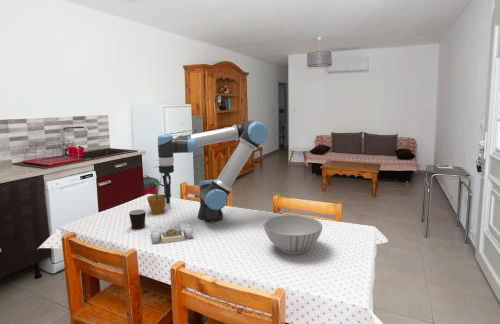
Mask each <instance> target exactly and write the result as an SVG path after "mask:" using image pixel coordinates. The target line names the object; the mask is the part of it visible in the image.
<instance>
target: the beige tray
mask: <svg viewBox="0 0 500 324" xmlns="http://www.w3.org/2000/svg"><path fill="white" fill-rule="evenodd" d="M178 224H179V226H178V227H179V230H176V235H174V236H167V235H166V232H165V231H164V230H163V226H162V225H156V226H154V227H152V228H151V229H150V232H151V233H150V238H151V244H152V246H154V245H160V244H161V245H162V244H168V243H177V242H183V241H190V240H195V238H194V236H193V228H192V227H191V223H185V222H180V223H178Z"/></svg>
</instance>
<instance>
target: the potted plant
mask: <svg viewBox="0 0 500 324" xmlns="http://www.w3.org/2000/svg"><path fill="white" fill-rule="evenodd" d="M154 168H158V169H159V165H157V166H155V167H154ZM160 174H161V175H160V180H159V181H158V180H157V179H156V178H154V177H151V176H148V175H147V174H145V177H146V178H147V179H151V180H155V181H154V183H153V185H151V186H149V187H148V188H146V189H145V192H146V191H149V190H150V189H151V188H154V189H156V193H155V194H153V195H149V196H147V197H146V199H147V202H148V205H149V209H150V211H151V214H152V215H162V214H164V213H165V210H166V209H165V198H164V196H165V194H158V193H159V189H160V186H162V187H164V184H162V179H163V173H160Z"/></svg>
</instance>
